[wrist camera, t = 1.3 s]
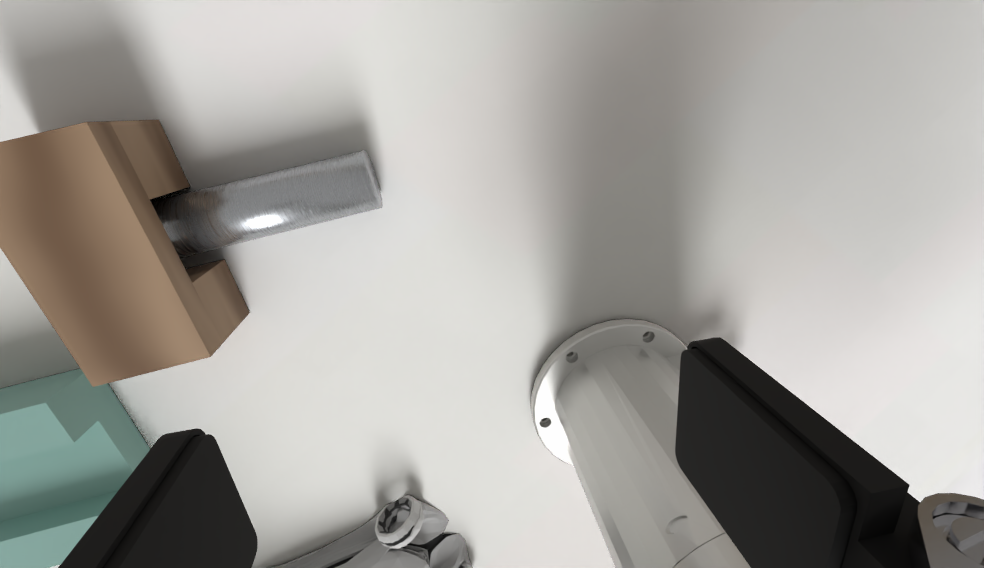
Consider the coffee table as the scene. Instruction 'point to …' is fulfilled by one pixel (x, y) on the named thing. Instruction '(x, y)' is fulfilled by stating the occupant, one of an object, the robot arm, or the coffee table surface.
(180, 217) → the axle
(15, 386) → the v block
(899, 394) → the coffee table surface
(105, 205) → the wooden bridge block
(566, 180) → the coffee table surface
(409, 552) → the car model
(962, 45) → the coffee table surface
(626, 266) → the coffee table surface
